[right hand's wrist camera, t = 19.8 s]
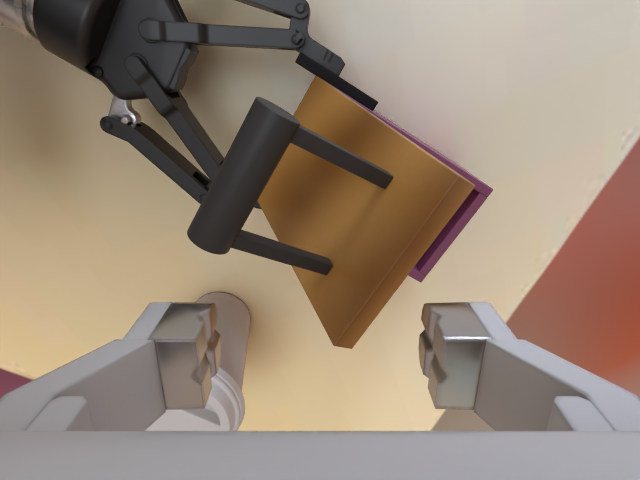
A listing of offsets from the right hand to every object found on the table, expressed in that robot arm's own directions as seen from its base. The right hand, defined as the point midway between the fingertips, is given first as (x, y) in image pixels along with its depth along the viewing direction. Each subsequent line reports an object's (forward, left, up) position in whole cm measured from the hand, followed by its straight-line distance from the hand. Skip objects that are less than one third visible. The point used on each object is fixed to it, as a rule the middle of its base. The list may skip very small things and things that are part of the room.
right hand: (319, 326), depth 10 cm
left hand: (-1, +1, -25) cm, 25 cm away
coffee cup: (+16, +15, -31) cm, 38 cm away
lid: (-1, +1, -15) cm, 15 cm away
